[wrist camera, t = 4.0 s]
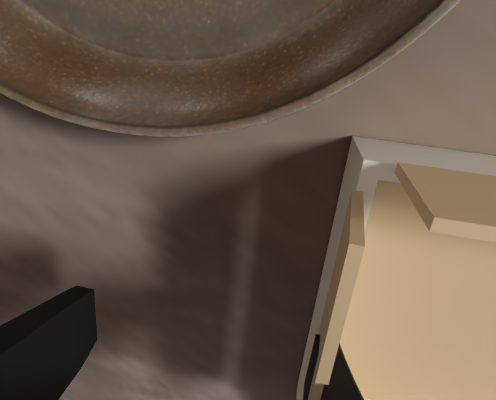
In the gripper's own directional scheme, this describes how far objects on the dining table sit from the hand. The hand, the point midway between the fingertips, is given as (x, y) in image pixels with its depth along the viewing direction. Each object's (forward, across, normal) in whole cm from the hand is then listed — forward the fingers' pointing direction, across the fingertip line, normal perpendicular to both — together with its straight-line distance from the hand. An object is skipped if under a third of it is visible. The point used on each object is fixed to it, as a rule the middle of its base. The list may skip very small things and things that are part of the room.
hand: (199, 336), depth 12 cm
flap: (-1, -4, 0) cm, 4 cm away
